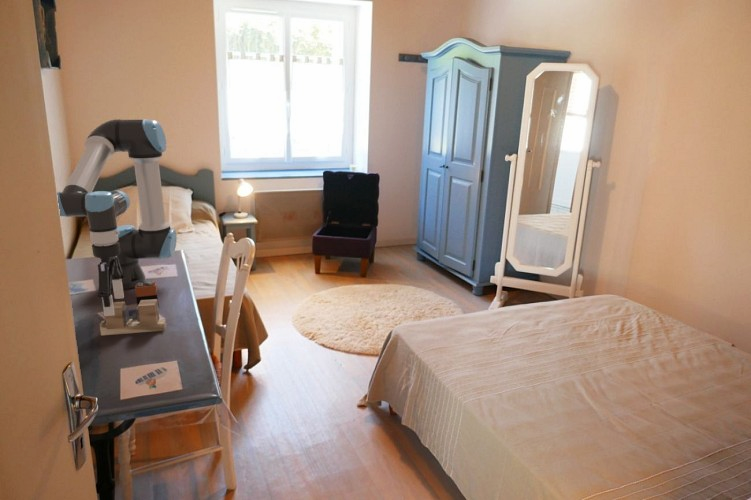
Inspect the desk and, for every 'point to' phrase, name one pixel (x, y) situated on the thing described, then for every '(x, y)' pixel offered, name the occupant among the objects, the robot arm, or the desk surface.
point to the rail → (132, 328)
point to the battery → (146, 291)
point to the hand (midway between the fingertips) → (114, 306)
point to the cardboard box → (118, 316)
